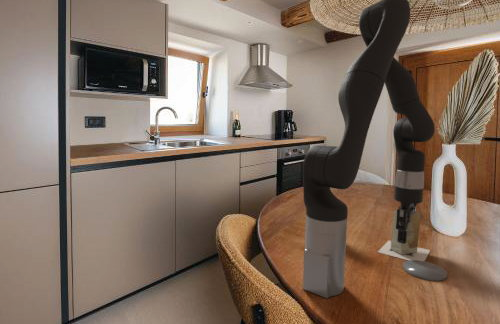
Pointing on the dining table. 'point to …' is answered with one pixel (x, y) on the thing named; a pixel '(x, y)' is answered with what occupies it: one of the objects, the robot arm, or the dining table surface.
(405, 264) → the slate coaster
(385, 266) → the dining table surface
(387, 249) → the card
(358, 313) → the dining table surface
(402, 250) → the skincare box
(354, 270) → the dining table surface
